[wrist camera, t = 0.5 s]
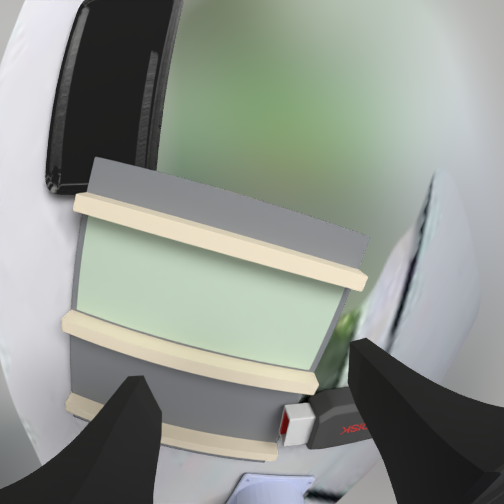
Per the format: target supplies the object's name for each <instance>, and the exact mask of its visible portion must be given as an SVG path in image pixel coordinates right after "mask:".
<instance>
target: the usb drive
mask: <svg viewBox="0 0 504 504" xmlns="http://www.w3.org/2000/svg"><path fill="white" fill-rule="evenodd" d="M279 435H280V438H281V441H282V444H283V446H292V445H300V444H306V445H307V448H308V449H323V448H329V447H334V446H339V445H344V444H349V443H354V442H358V441H362V440H366V439H370V438H372V436H371V434H370V432H369V430H368V428H367V427H366V425H365V423H364V421H363V419H362V417H361V415H360V413H359V411H358V409H357V407H356V405H355V402H354V399H353V397H352V394H351V391H350V388H349V387H346V388H338V389H331V390H325V391H322V392H320V393H318V394H316V395H314V396H311V397H310V398H309V400H308V403H301V404H290V405H284V410H283V414H282V419H281V423H280V428H279Z"/></svg>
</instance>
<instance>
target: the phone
mask: <svg viewBox="0 0 504 504" xmlns="http://www.w3.org/2000/svg"><path fill="white" fill-rule="evenodd" d="M182 8H183V0H85V1H83V3H82V4H81V5H80V7H79V9H78V11H77V14H76V17H75V20H74V23H73V26H72V29H71V32H70V36H69V39H68V43H67V46H66V50H65V53H64V57H63V61H62V65H61V69H60V74H59V78H58V83H57V88H56V93H55V98H54V104H53V110H52V116H51V123H50V131H49V139H48V149H47V160H46V175H45V178H46V184H47V187H48V189H49V190H50V191H51V192H52V193H54V194H61V195H76V194H78V193H85V192H87V189H88V184H89V180H90V176H91V171H92V167H93V163H94V159H95V157H99V158H104V159H108V160H112V161H117V162H121V163H125V164H129V165H133V166H137V167H141V168H145V169H149V170H153V171H157V161H158V150H159V142H160V133H161V124H162V117H163V109H164V102H165V95H166V89H167V82H168V76H169V70H170V64H171V59H172V54H173V48H174V44H175V39H176V34H177V29H178V25H179V20H180V16H181V12H182Z"/></svg>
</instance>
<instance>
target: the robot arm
mask: <svg viewBox="0 0 504 504" xmlns="http://www.w3.org/2000/svg"><path fill="white" fill-rule="evenodd" d="M348 385H349V388H350V391H351V394H352V397H353V399H354V402H355V405H356V407H357V409H358V411H359V413H360V415H361V417H362V419H363V421H364V423H365V425H366V427H367V428H368V430H369V432H370V434H371V436H372V438H373V440H374V442H375V444H376V446H377V448H378V450H379V452H380V454H381V456H382V459H383V461H384V463H385V467H386V469H387V472H388V475H389V478H390V481H391V484H392V487H393V490H394V494H395V497H396V500H397V504H504V408H503V407H498V406H494V405H490V404H486V403H483V402H480V401H477V400H474V399H471V398H468V397H465V396H463V395H460V394H458V393H455V392H453V391H451V390H449V389H447V388H444V387H442V386H440V385H438V384H436V383H434V382H433V381H431V380H429V379H427V378H425V377H424V376H422V375H420V374H419V373H417V372H415V371H414V370H412V369H410V368H409V367H407V366H406V365H404V364H403V363H401V362H400V361H398V360H397V359H395V358H394V357H392V356H391V355H390V354H388V353H387V352H385V351H384V350H383V349H381V348H380V347H378V346H377V345H376V344H374V343H373V342H371V341H370V340H369V339H367V338H364V339H360V340H356V341H352V342H350V353H349V371H348ZM161 436H162V411H161V409H160V407H159V405H158V404H157V402H156V400H155V398H154V396H153V394H152V392H151V390H150V388H149V386H148V384H147V382H146V380H145V377H144V375H139V376H128V377H127V378H126V379H125V380H124V382H123V383H122V384H121V385H120V386H119V388H118V389H117V390H116V391H115V393H114V394H113V395H112V396H111V398H110V399H109V400H108V401H107V403H106V404H105V405H104V406H103V408H102V409H101V410H100V411H99V412H98V414H97V415H96V416H95V417H94V418H93V419H92V421H91V422H90V423H89V424H88V425H87V426H86V427H85V428H84V429H83V431H82V432H81V433H80V434H79V435H78V436H77V437H76V438H75V439H74V440H73V441H72V442H71V443H70V444H69V445H68V446H67V447H65V448H64V449H63V450H62V451H61V452H60V453H59V454H57V455H56V456H55V457H54V458H52V459H51V460H50V461H48V462H47V463H46V464H44V465H43V466H42V467H40V468H39V469H37V470H36V471H34V472H33V473H31V474H30V475H28V476H26V477H24V478H23V479H21V480H19V481H17V482H15V483H13V484H11V485H9V486H7V487H4V488H2V489H0V504H153V491H154V482H155V475H156V469H157V462H158V456H159V450H160V443H161ZM314 481H315V478H314V477H313V476H277V475H262V474H250V473H247V474H244V475H243V477H242V478H241V480H240V482H239V483H238V485H237V487H236V488H235V490H234V491H233V493H232V495H231V496H230V498H229V500H228V501H227V503H226V504H305V502H304V498H303V494H304V493H305V491H306V490H307V489H308V488H309V487H310V486H311V484H312V483H313V482H314Z"/></svg>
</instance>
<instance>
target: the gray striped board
mask: <svg viewBox="0 0 504 504" xmlns="http://www.w3.org/2000/svg"><path fill="white" fill-rule="evenodd" d="M73 211H76V212H79V213H83V214H82V220H81V225H80V232H79V238H78V245H77V252H76V260H75V269H74V279H73V291H72V305H71V310H70V311H69V312H68V313H67V314H66V315H65V316H64V317H63V318H62V331H64V332H66V333H69V334H70V368H71V391H72V392H71V394H70V396H69V397H68V399H67V401H66V402H65V406H66V411H68V412H70V413H72V414H73V416H74V417H77V418H79V419H82V420H84V421H87V422H89V423H90V422H91V421H92V419H93V418H94V417H95V416H96V415H97V414H98V412H99V411H100V410H101V409H102V408H103V406H104V405H105V404H106V403H107V401H108V400H109V399H110V398H111V396H112V395H113V394H114V393H115V391H116V390H117V389H118V388H119V386H120V385H121V384H122V383H123V382H124V380H125V379H126V378H127V377H128V376H139V375H144V377H145V380H146V382H147V384H148V386H149V388H150V390H151V392H152V394H153V396H154V398H155V400H156V402H157V404H158V405H159V407H160V409H161V411H162V436H161V443H160V445H162V446H166V447H170V448H175V449H179V450H184V451H189V452H194V453H199V454H204V455H210V456H216V457H222V458H229V459H236V460H244V461H253V462H263V463H264V462H265V461H275V460H276V458H277V457H278V449H277V444H276V442H277V440H278V439H279V437H280V435H279V428H280V423H281V419H282V414H283V410H284V405H290V404H298V403H299V401H300V399H301V397H302V395H303V394H308V395H314V393H315V391H316V389H317V388H318V386H319V384H318V381H317V379H316V377H315V374H314V371H315V369H316V367H317V365H318V363H319V361H320V359H321V357H322V355H323V352H324V350H325V348H326V346H327V344H328V342H329V339H330V337H331V335H332V333H333V330H334V328H335V326H336V324H337V321H338V319H339V317H340V314H341V312H342V310H343V307H344V305H345V302H346V300H347V297H348V295H349V292H350V290H351V289H354V290H358V291H362V290H363V288H364V286H365V283H366V281H367V278H368V276H366V275H365V274H364V273H362V272H361V271H360V270H359V267H360V264H361V262H362V259H363V256H364V254H365V251H366V248H367V245H368V242H369V239H370V237H369V236H366V235H364V234H361V233H358V232H356V231H353V230H350V229H347V228H344V227H341V226H338V225H335V224H333V223H330V222H327V221H324V220H321V219H318V218H315V217H312V216H309V215H305V214H302V213H299V212H296V211H293V210H290V209H287V208H284V207H280V206H277V205H274V204H271V203H268V202H264V201H261V200H258V199H255V198H251V197H248V196H245V195H241V194H238V193H235V192H231V191H228V190H224V189H221V188H218V187H214V186H210V185H207V184H203V183H199V182H196V181H192V180H189V179H185V178H181V177H178V176H174V175H170V174H166V173H163V172H159V171H153V170H149V169H145V168H141V167H137V166H133V165H129V164H125V163H121V162H117V161H112V160H108V159H104V158H99V157H95V159H94V163H93V167H92V171H91V176H90V180H89V184H88V189H87V192H85V193H78V194H76V197H75V202H74V207H73Z"/></svg>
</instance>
